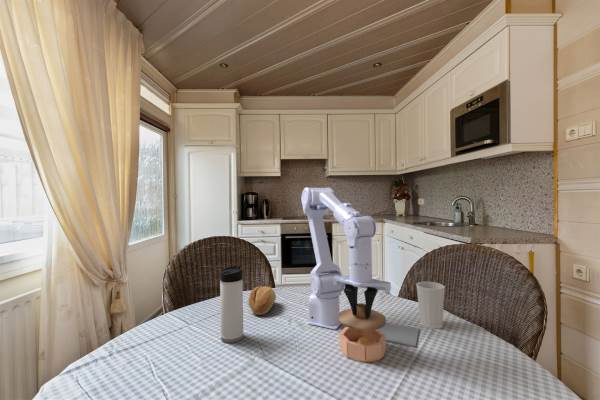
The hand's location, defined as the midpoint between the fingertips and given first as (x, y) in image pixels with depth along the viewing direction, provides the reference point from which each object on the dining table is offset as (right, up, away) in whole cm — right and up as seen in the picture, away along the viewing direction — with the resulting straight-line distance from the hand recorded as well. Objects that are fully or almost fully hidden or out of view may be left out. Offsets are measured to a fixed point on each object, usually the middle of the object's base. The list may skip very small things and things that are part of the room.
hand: (361, 315), depth 70 cm
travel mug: (-35, -10, +8) cm, 37 cm away
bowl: (0, -9, 0) cm, 9 cm away
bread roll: (-30, -10, +29) cm, 42 cm away
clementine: (0, -7, -1) cm, 7 cm away
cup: (+25, -9, +14) cm, 30 cm away
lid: (0, -1, 0) cm, 1 cm away
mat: (+12, -9, +8) cm, 17 cm away
